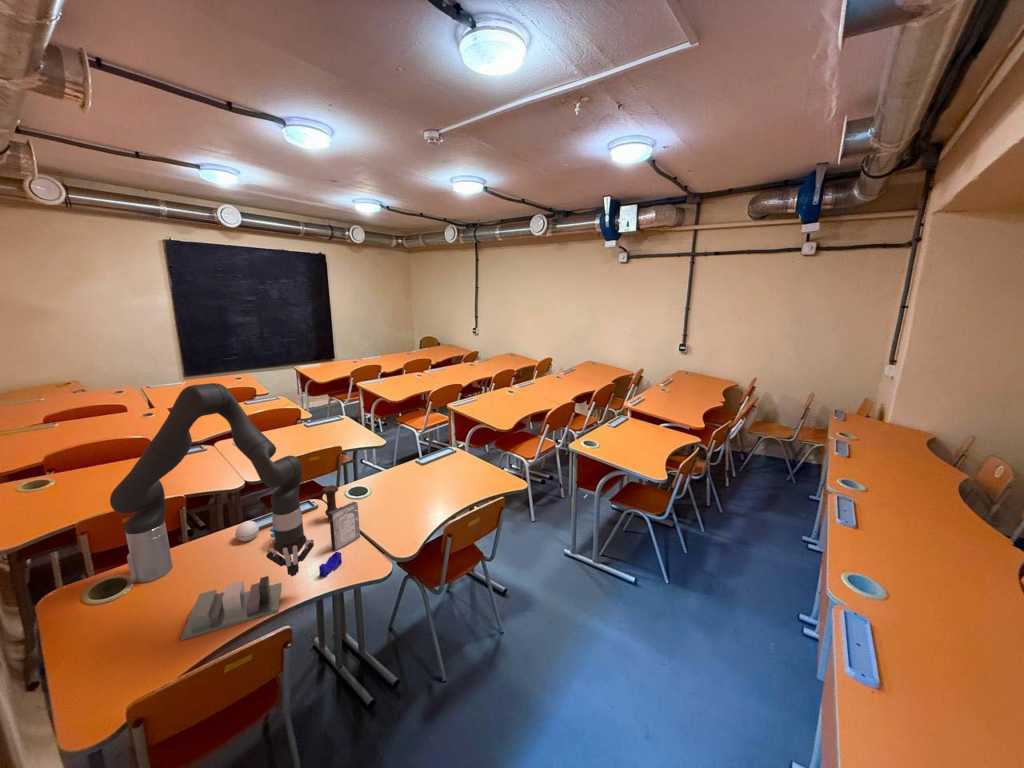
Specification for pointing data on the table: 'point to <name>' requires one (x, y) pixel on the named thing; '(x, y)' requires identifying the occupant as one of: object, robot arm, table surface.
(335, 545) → the disk drive
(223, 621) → the vise
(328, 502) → the bolt
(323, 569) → the cable holder
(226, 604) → the steel block
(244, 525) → the seamed sphere
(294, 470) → the robot arm
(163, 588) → the table surface
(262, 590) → the free jaw
